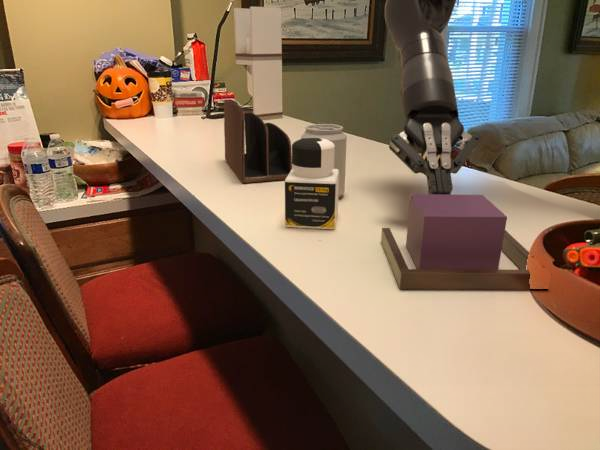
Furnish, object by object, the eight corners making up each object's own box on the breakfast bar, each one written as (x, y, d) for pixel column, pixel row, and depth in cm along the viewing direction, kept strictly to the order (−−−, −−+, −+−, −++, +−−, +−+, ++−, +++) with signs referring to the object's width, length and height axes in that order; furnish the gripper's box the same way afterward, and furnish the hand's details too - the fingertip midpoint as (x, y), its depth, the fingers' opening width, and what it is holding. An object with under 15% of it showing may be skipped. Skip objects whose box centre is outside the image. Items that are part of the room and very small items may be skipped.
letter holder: (242, 184, 88) (238, 107, 83) (224, 160, 105) (221, 95, 100) (293, 179, 90) (292, 105, 85) (268, 157, 108) (266, 94, 103)
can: (345, 202, 78) (348, 129, 73) (300, 202, 78) (300, 129, 73) (343, 189, 85) (345, 122, 80) (301, 189, 85) (301, 122, 80)
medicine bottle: (284, 227, 67) (283, 144, 63) (292, 211, 74) (292, 134, 69) (334, 230, 66) (337, 145, 62) (337, 213, 73) (340, 135, 69)
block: (474, 245, 61) (482, 194, 59) (497, 273, 54) (507, 216, 51) (405, 245, 62) (410, 194, 59) (418, 273, 54) (424, 216, 52)
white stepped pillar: (265, 114, 172) (262, 9, 159) (282, 117, 164) (281, 8, 152) (238, 117, 166) (233, 8, 153) (255, 121, 158) (251, 6, 145)
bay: (501, 242, 62) (503, 228, 62) (548, 290, 50) (552, 273, 50) (381, 241, 63) (381, 227, 62) (399, 289, 50) (401, 273, 50)
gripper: (387, 75, 66) (397, 184, 59) (481, 75, 66) (502, 184, 59) (379, 109, 73) (387, 210, 66) (464, 109, 73) (481, 210, 66)
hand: (441, 197), depth 62 cm, fingers closed
